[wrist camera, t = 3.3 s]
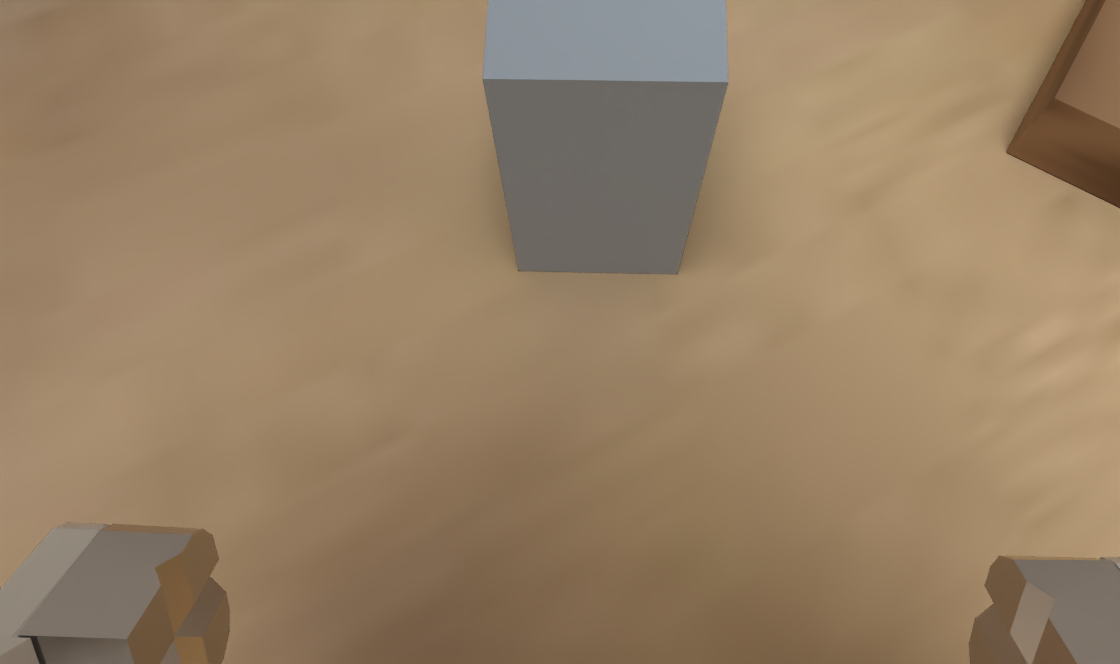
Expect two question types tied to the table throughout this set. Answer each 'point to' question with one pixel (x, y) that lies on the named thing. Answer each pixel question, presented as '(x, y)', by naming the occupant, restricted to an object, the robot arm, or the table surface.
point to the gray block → (603, 126)
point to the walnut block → (1080, 107)
